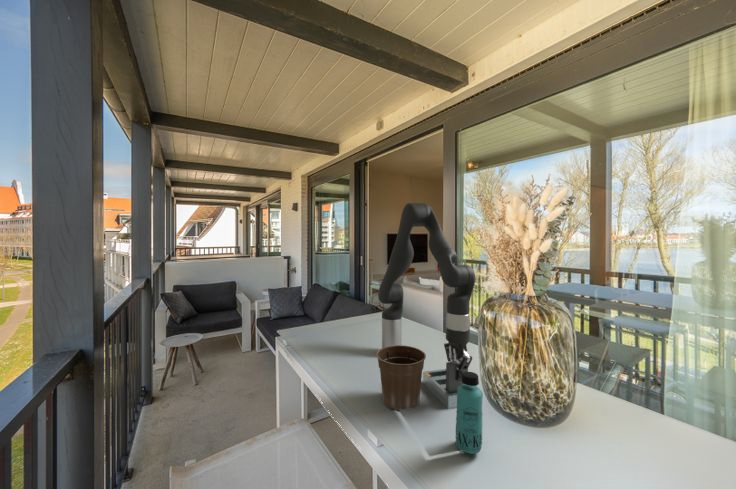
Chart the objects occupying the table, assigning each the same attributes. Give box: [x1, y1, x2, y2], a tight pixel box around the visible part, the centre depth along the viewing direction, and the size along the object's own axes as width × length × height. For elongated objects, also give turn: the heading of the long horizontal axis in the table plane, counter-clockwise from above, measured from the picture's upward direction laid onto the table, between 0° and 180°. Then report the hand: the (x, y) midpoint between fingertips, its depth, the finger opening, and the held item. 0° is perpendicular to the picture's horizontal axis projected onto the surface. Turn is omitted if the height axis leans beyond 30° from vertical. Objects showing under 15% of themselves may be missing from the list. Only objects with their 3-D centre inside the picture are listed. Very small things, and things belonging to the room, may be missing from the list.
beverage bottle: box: [455, 371, 484, 455], centre depth 77 cm, size 6×7×20 cm
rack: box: [422, 368, 457, 410], centre depth 105 cm, size 18×10×5 cm, turn 16°
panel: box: [445, 361, 469, 393], centre depth 99 cm, size 2×7×9 cm, turn 105°
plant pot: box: [375, 344, 427, 412], centre depth 100 cm, size 16×16×16 cm
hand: (456, 378), depth 99 cm, fingers closed on panel, 1 cm apart
